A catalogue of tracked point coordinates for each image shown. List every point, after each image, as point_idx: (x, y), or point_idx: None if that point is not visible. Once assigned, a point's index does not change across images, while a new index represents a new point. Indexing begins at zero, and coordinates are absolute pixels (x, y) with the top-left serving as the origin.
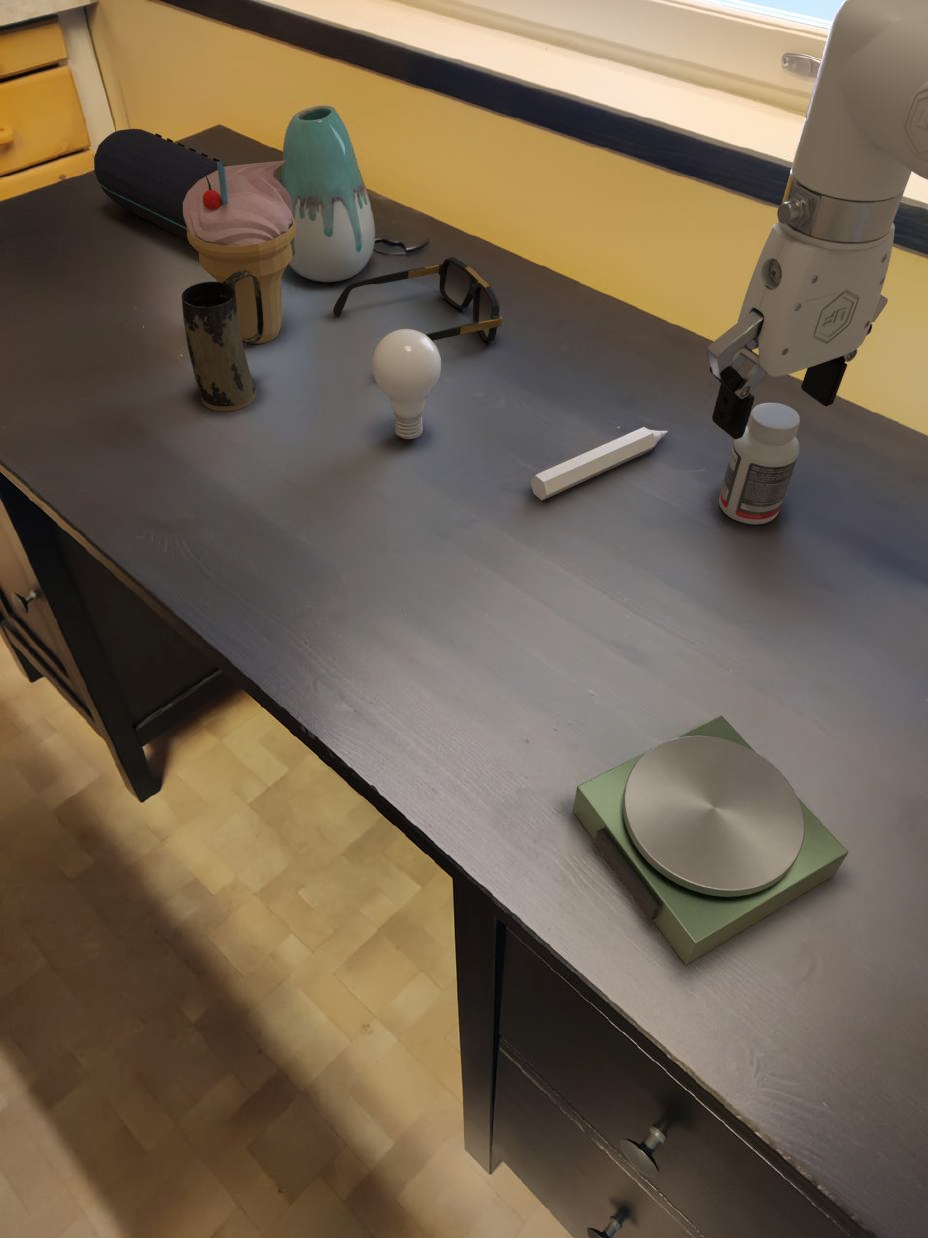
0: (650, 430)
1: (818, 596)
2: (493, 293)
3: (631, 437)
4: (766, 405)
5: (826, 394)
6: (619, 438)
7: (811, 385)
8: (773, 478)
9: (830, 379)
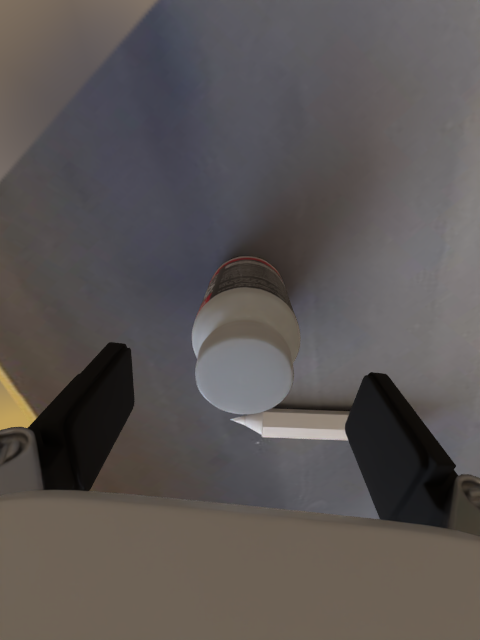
0: (258, 429)
1: (320, 96)
2: None
3: (288, 432)
4: (233, 406)
5: (119, 367)
6: (300, 437)
7: (124, 402)
8: (272, 285)
9: (100, 398)
